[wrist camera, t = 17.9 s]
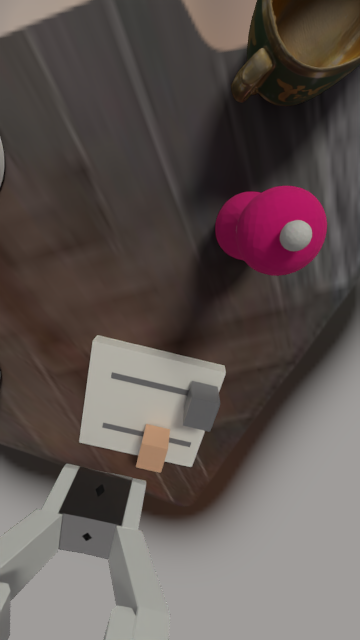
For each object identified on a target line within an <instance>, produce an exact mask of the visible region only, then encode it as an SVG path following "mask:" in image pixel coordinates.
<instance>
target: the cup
mask: <svg viewBox="0 0 360 640" xmlns="http://www.w3.org/2000/svg"><path fill="white" fill-rule="evenodd" d="M247 60H248V61H247V62H246V64H245V65H244V66H243V67H242V68H241V69H240V70H239V72H238V73H237V75H236V76H235V78H234V81H233V83H232V86H231V90H232V94H233V97H234V99H235V100H236V101H238V102H244V101H245V100H247V99H248V98H249V97H250V96H251V95H256V94H257V93H259V94H260V95H261V96H262V97H263V98H264V99H265V100H267V101H268V102H270V103H272V104H275V105H279V106H291V105H296V104H299V103H302V102H305V101H307V100H310V99H312V98H314V97H315V96H317V95H319V94H321V93H322V92H324V91H325V90H327V89H328V88H330V87H331V86H333V85H334V84H336V83H337V82H338V81H340V80H341V79H342V78H344V77H345V76H346V75H348V74H349V73H350V72H352V71H353V70H354V69H355V68H357V67H358V66H359V65H360V0H257V2H256V6H255V10H254V13H253V16H252V20H251V25H250V30H249V36H248V46H247Z"/></svg>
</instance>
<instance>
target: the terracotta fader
mask: <svg viewBox="0 0 360 640" xmlns="http://www.w3.org/2000/svg"><path fill="white" fill-rule="evenodd" d="M169 435H170V429H166V428H162V427H157V426H153V425H149V424H146V427H145V431H144V435H143V439H142V443H141V447H140V451H139V455H138V460H137V464H136V467H137V468H142V469H146V470H151V471H155V472H160V473H161V471H162V467H163V464H164V461H165V457H166V454H167V451H168V444H169Z"/></svg>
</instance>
